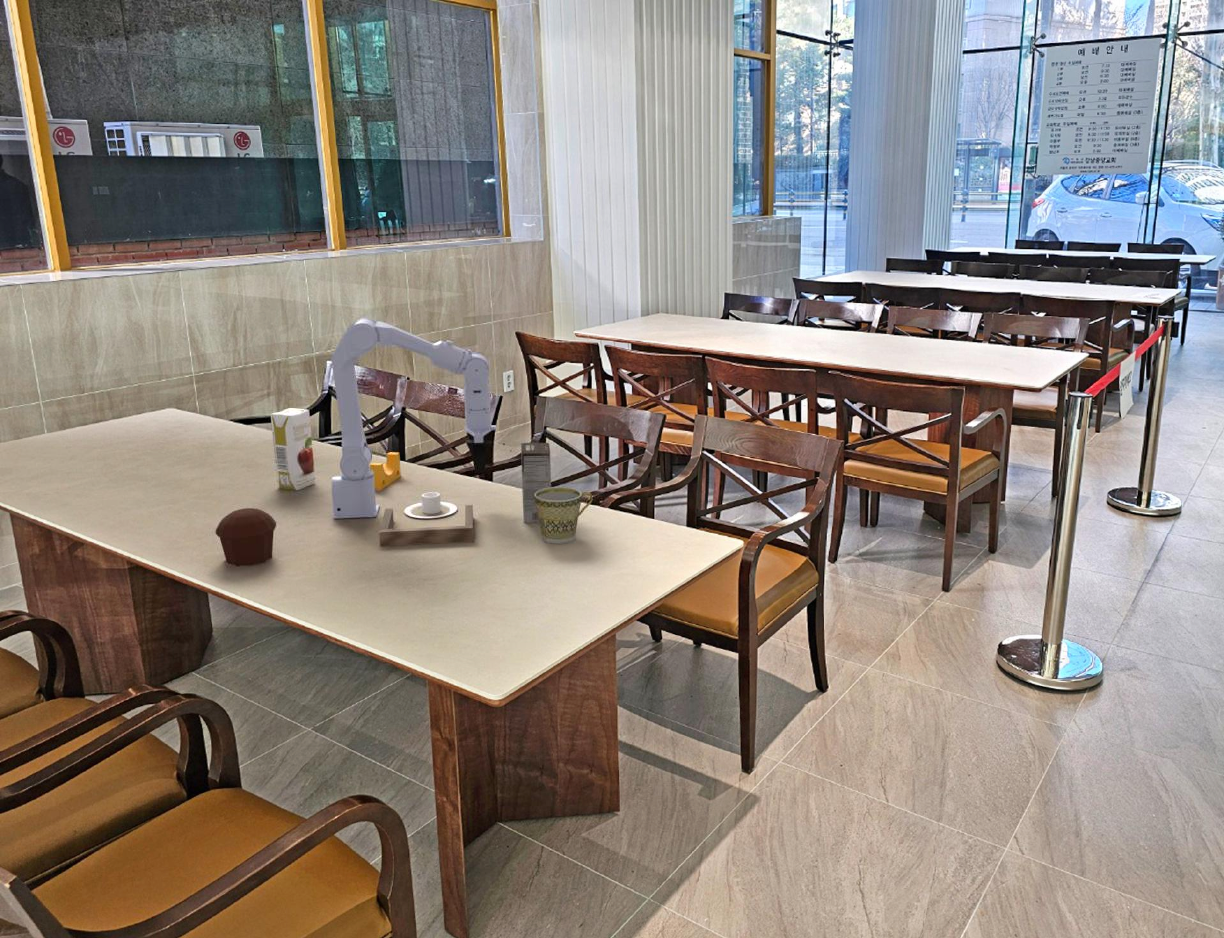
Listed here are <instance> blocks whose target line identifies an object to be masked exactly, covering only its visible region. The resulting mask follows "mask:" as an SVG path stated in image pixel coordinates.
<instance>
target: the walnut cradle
mask: <svg viewBox="0 0 1224 938" xmlns="http://www.w3.org/2000/svg"><path fill="white" fill-rule="evenodd" d="M464 508H465V510H464V511H465V512H464V513H465V514H464V525H452V526H431V527H428V526H427V527H410V528H407V527H406V528H393V525H394V520H395V519H394V508H385V509H384V512H383V515H382V516H383V517H382V520H381V523H380V527H379V532H378V535H379V536H378V538H379V546H380V547H382V546H383V547H386V546H405V545H406V546H407V545H422V544H423V545H424V544H425V545H427V544H443V543H444V544H446V543H467V542H469V543H470V542H474V507H473V504H465V507H464Z"/></svg>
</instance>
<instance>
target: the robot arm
mask: <svg viewBox="0 0 1224 938" xmlns="http://www.w3.org/2000/svg"><path fill="white" fill-rule="evenodd" d="M378 343H379V346H378V347H379V348H385V347H390V346H396V347H398V348H401V349H404V350H408V351H411V352H412V353H416V354H419V355H422V356H425V357H427V358H428V359H429V361H430V364H431V365H433V366H435V367H438V368H440V369H442V370H445V371H448V372H450V373H453V374H455V375H458V376H460V375H463V377H464V385H465V386H464V388H463V393H464V416H465V417H464V419H465V422H464V423H465V426H464V431H465V433H466V435H467V437H468V439H467V440H465V444H466V447H467V448H468V450H469V452H470V454H471V458H472V463H473V467H474V471H475V472H480V471H485V469H486V466H487V464H486V463H487V459H488V458H487V457H488V452H489V450H490V447H491V445H492V440H489V438H490V435H491V434H492V433H491V432H492V431H496V430H497V425H496V424H495V425H492V424H491V423H492V420H491V415H492V413H491V389H490V386H489V385H490V379H489V377H490V372H491V370H490V367H489V362H488V360H487V358H486V357H485V355H482V354H480V352H473V350H471V349H467V350H466V349H463V348H461V347H458V346H455V345H453V341H451V340H449V339H447V340H446V341H444V340H439V341H437V342H431V341H429V340H427V339H423V338H421V337H419V336H417V335H414V334H412V333H411V332H409V331H405V330H403V329H401V328H399V327H396V326H394V325H392V324H389V323H386V322H384V321H378V320H377V321H376V320H374V319H372V318H370V317H361V318H358V319H357V320H355V322H353V323H352V324H351V325H350V326H349V327H348V328H347V329H346V331H345V332H344V333H343V335H342V337H341V338H340V340H339V343H337V346H336V348H335V350H334V352H333V354H332V356H331V360H330V361H331V368H332V373H333V375H332V376H333V381H334V387H335V388H334V389H335V397H336V403H337V411H338V417H339V424H340V432H341V452H342V454H341V458H340V461H339V468H340V469H339V470H340V472H341V473H340V475H336V476H332V478H331V499H332V509H333V510H332V511H333V512H332V513H333V519H354V518H357V519H358V518H375V517H377V516H378V513H379V509H380V504H378V503H377V502H376V489H375V485H374V472H373V471H372V470H371V469H370V464H371V462H372V459H373V452H372V450H371V448H370V446H369V445H368V443H367V438H366V435H365V432H364V426H363V420H362V410H361V404H360V395H359V388H358V381H357V374H356V365H355V363H357V361H358V360H359V359H360V358H361V357H362V356H363V355H365V354H367V353H368V352H370V351H372V350H373V349H374V348H375V347H376V345H377V344H378ZM376 503H377V504H376Z"/></svg>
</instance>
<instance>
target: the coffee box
mask: <svg viewBox="0 0 1224 938" xmlns="http://www.w3.org/2000/svg"><path fill="white" fill-rule="evenodd" d="M520 446H521V447H520V450H521V451H520V452H521V454H520V455H521V459H520V460H521V487H522V488H521V491H522V511H523V512H522V513H523V523H539V518H538V513H537V509H536V504H535V498H534V494H535V492H537V491H538V490H541V489H544V488H550V487H552V473H551V472H552V469H551V448H550V443H549V442H521V444H520Z"/></svg>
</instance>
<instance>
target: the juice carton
mask: <svg viewBox="0 0 1224 938" xmlns="http://www.w3.org/2000/svg"><path fill="white" fill-rule="evenodd" d="M270 421H271V432H272V442H273V453H274V461H275V473H276V480H277V481H276V482H277V487H278V489H282V490H290V489H292V491H300V490H302V489H304V488H307V487H310V486H312V485H314V484H316V475H315V473H316V472H315V461H314V449H313V440H312V437H313V436H312V427H311V426H312V425H311V418H310V409H305V408H304V409H303V408H292V407H288V408H285V409H283V410H282V411H277V412H273V413H272V412H271V413H270ZM311 484H312V485H311ZM306 486H307V487H306Z"/></svg>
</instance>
